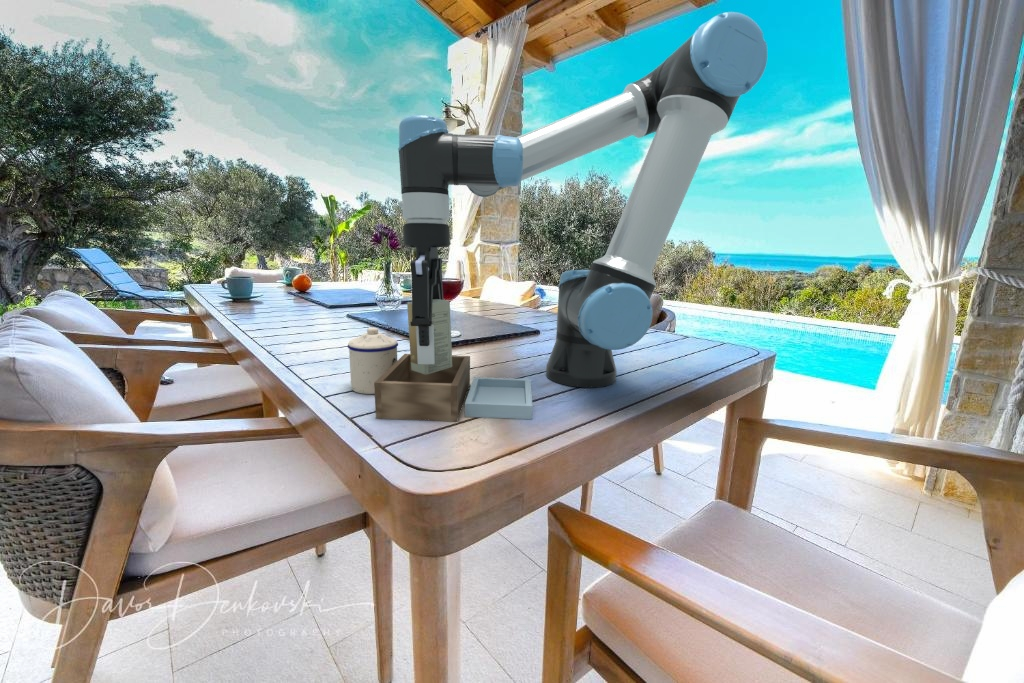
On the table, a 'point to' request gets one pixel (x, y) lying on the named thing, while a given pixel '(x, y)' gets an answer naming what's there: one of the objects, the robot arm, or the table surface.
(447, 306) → the skincare box
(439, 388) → the caddy
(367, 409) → the table surface
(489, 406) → the tray
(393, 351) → the cream lidded jar
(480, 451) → the table surface
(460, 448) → the table surface
